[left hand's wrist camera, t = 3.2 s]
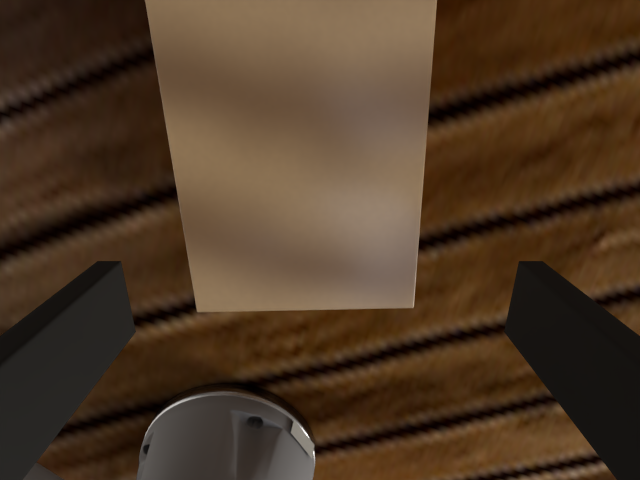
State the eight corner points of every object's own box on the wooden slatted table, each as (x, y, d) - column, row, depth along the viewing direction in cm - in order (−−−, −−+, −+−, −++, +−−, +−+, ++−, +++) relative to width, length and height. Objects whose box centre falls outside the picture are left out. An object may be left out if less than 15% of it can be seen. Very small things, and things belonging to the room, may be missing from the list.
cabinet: (194, -115, 20) (99, -269, 11) (399, -122, 20) (458, -283, 11) (235, 242, 28) (196, 312, 19) (384, 239, 28) (414, 308, 19)
